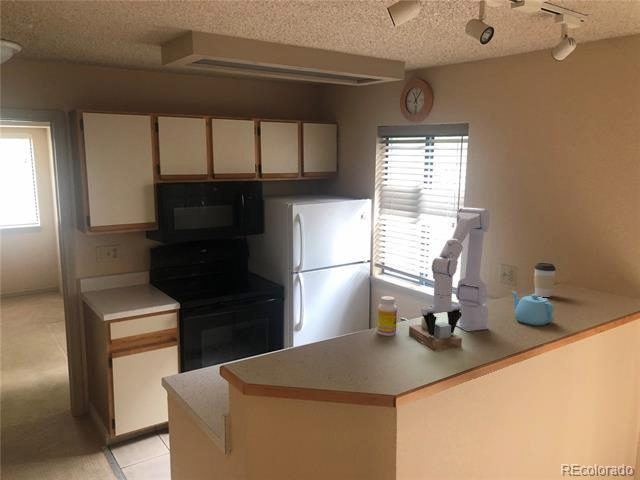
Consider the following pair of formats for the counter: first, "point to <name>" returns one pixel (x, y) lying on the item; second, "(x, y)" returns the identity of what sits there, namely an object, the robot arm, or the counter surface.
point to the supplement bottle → (387, 316)
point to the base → (431, 341)
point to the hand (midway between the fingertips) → (441, 333)
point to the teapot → (533, 309)
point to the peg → (442, 330)
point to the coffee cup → (544, 279)
